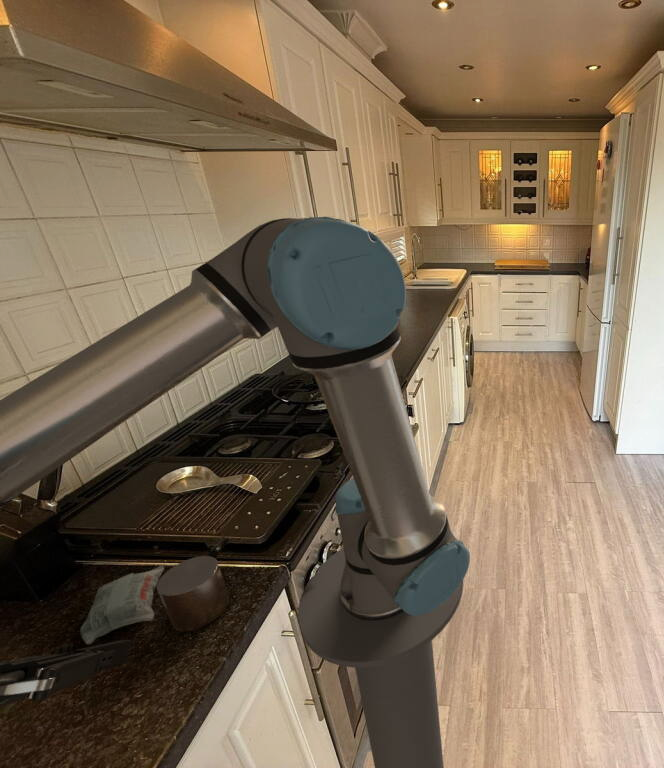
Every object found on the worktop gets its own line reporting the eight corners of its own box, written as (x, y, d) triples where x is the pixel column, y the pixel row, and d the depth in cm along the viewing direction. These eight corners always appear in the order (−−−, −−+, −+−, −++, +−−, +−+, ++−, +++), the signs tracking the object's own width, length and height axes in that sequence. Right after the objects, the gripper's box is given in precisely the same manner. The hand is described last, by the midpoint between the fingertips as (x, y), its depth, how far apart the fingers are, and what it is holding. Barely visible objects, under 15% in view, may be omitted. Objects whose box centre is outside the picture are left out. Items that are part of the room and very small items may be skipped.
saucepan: (255, 560, 80) (246, 527, 77) (213, 629, 66) (200, 592, 63) (211, 563, 79) (200, 530, 76) (160, 634, 65) (144, 597, 62)
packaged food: (168, 576, 76) (159, 556, 74) (156, 627, 66) (146, 605, 65) (106, 597, 72) (95, 576, 70) (84, 654, 62) (71, 632, 61)
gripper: (-249, 781, 31) (59, 688, 52) (-63, 770, 31) (165, 683, 53) (-186, 662, 33) (81, 621, 55) (-17, 654, 34) (181, 617, 56)
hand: (122, 651), depth 54 cm, fingers closed
